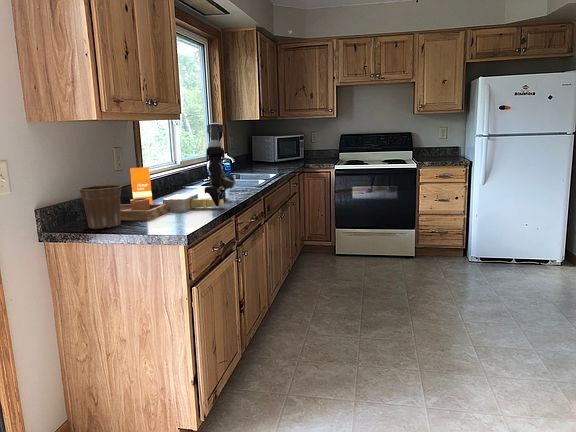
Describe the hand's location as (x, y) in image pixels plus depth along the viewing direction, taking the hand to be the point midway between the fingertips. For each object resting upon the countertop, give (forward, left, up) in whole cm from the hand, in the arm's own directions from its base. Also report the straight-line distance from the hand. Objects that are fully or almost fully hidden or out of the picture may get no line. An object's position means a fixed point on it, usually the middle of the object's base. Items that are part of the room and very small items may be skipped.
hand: (218, 205), depth 214 cm
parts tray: (+18, -35, -2) cm, 39 cm away
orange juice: (-4, -41, -2) cm, 41 cm away
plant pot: (+38, -36, -2) cm, 52 cm away
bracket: (+18, -35, -2) cm, 39 cm away
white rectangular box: (0, -19, -2) cm, 19 cm away
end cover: (0, -6, -1) cm, 6 cm away
